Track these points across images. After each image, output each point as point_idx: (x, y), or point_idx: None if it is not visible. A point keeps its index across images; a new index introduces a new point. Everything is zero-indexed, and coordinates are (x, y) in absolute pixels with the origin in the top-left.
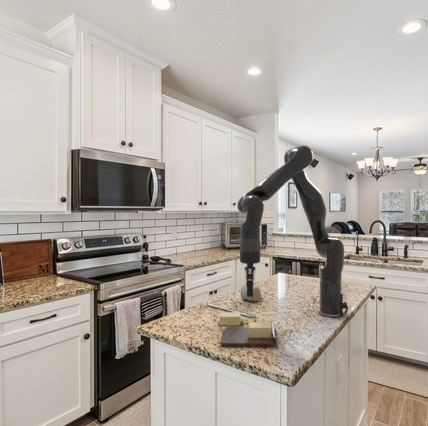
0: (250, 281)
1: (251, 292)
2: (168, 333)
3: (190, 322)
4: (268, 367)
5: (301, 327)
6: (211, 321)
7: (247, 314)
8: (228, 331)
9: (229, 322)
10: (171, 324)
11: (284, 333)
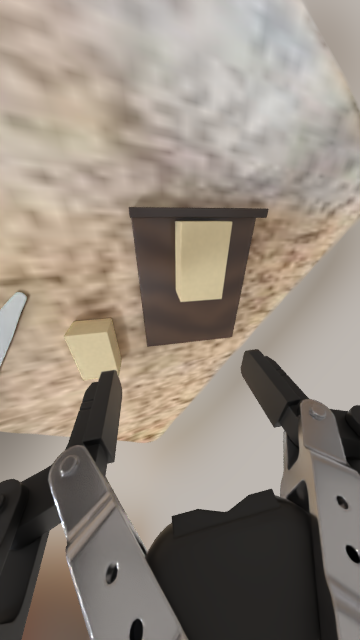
0: (107, 443)
1: (281, 371)
2: (171, 412)
3: None
4: (333, 233)
5: (61, 19)
6: None
7: (6, 310)
8: (174, 336)
9: (116, 346)
10: (133, 422)
11: (153, 159)
